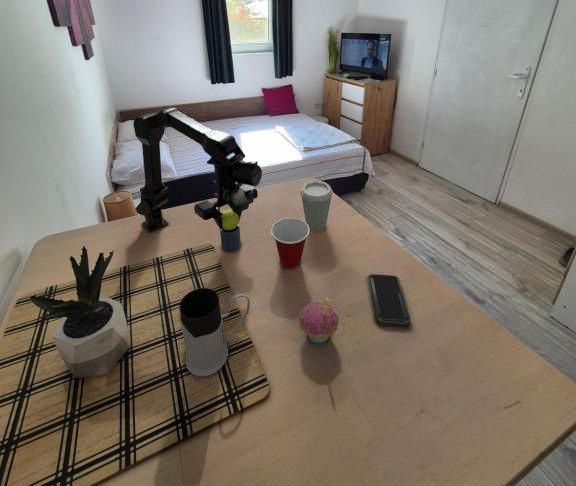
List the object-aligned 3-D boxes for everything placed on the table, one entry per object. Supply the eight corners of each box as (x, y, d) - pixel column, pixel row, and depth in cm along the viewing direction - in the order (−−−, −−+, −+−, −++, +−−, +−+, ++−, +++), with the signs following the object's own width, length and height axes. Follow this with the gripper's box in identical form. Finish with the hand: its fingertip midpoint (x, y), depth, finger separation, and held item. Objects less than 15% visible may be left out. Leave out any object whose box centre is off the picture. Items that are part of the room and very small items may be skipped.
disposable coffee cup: (332, 235, 106) (335, 195, 100) (299, 235, 106) (300, 195, 100) (329, 217, 116) (331, 179, 110) (299, 217, 116) (299, 179, 110)
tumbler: (218, 246, 101) (216, 227, 98) (233, 238, 105) (232, 219, 102) (229, 255, 97) (227, 235, 95) (244, 246, 101) (243, 227, 98)
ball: (215, 228, 98) (214, 211, 96) (232, 220, 102) (230, 204, 100) (227, 237, 95) (225, 219, 92) (243, 228, 98) (242, 211, 96)
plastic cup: (265, 269, 92) (264, 234, 87) (280, 246, 101) (280, 214, 96) (301, 280, 88) (302, 244, 83) (313, 255, 97) (314, 222, 92)
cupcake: (340, 324, 75) (343, 284, 71) (332, 357, 68) (335, 315, 63) (304, 314, 78) (305, 275, 73) (293, 344, 71) (294, 304, 66)
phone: (376, 320, 75) (368, 273, 89) (376, 323, 75) (368, 276, 89) (411, 323, 74) (398, 275, 88) (410, 326, 75) (397, 279, 88)
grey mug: (183, 345, 70) (173, 293, 64) (246, 323, 76) (242, 273, 70) (188, 383, 63) (178, 328, 57) (257, 356, 68) (255, 303, 62)
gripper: (212, 201, 80) (217, 251, 87) (269, 177, 92) (270, 223, 99) (190, 186, 88) (196, 233, 94) (245, 166, 100) (247, 209, 106)
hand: (229, 224), depth 98 cm, fingers closed on ball, 6 cm apart
